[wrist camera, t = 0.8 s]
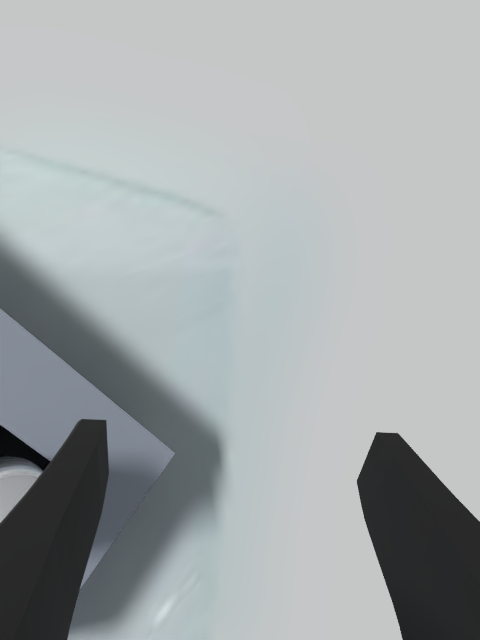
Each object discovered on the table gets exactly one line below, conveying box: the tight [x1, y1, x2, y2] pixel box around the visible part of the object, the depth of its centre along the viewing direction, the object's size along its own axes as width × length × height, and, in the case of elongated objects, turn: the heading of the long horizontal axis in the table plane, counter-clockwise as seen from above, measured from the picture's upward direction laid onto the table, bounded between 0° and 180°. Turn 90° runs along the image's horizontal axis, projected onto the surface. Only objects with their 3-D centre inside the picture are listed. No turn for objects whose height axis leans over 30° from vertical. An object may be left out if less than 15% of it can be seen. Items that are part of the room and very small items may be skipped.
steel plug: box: [0, 456, 43, 523], centre depth 15 cm, size 4×4×4 cm
